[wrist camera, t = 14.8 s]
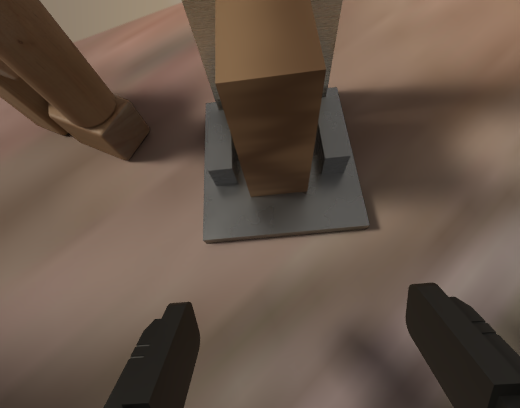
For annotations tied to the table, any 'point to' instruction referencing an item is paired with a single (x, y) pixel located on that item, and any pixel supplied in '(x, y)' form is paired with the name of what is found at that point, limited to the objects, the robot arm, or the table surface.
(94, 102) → the wooden rod assembly
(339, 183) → the grey stand
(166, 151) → the table surface
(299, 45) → the brown rectangular block
